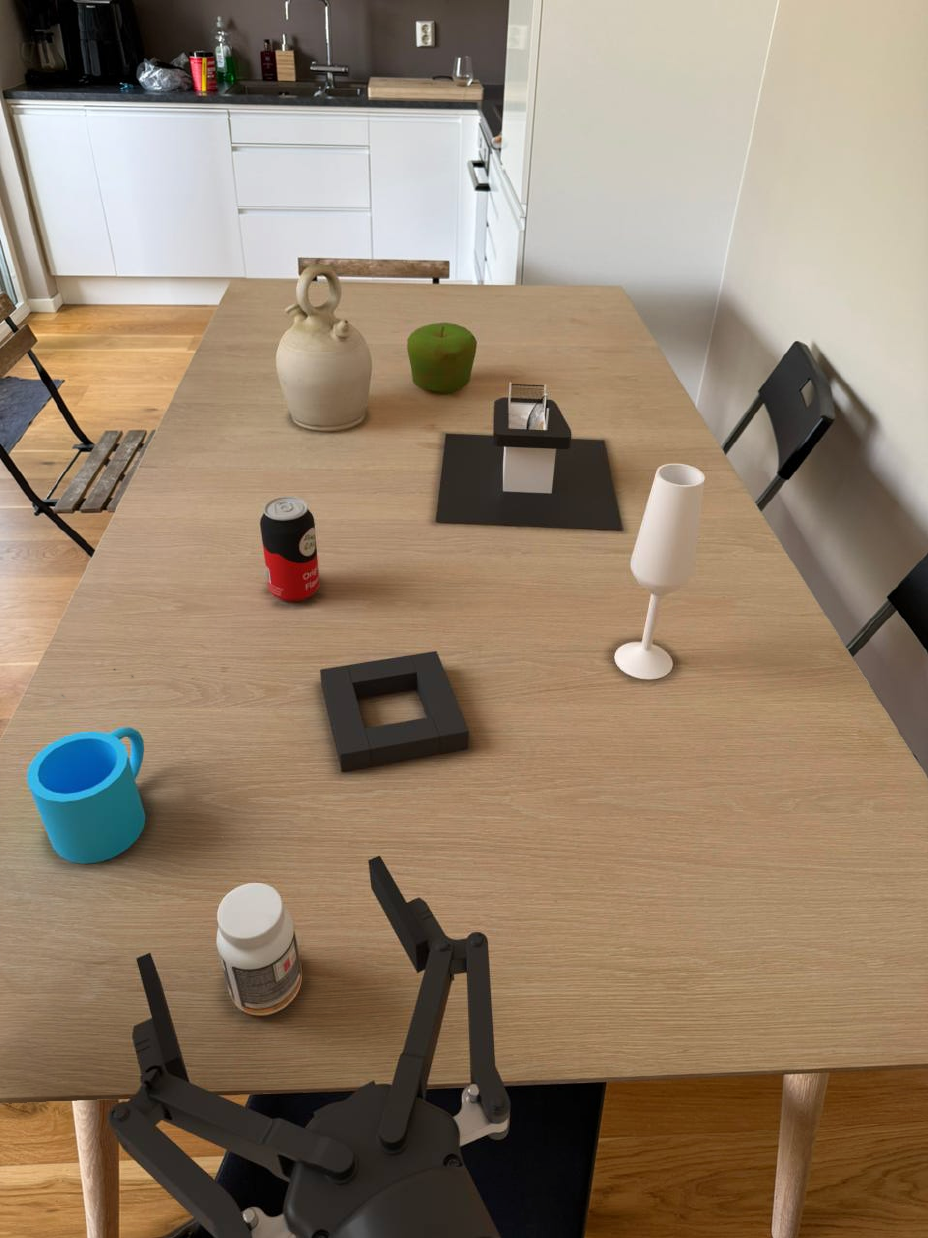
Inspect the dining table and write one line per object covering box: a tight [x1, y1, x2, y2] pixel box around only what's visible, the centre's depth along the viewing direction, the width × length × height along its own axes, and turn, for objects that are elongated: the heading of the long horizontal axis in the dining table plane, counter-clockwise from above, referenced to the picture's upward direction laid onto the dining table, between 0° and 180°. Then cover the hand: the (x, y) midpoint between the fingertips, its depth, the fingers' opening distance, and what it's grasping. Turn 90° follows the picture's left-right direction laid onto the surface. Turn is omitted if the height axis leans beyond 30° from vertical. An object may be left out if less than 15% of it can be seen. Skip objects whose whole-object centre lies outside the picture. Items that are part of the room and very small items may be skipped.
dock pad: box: [319, 650, 470, 773], centre depth 93 cm, size 13×13×2 cm
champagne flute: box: [614, 463, 706, 680], centre depth 95 cm, size 7×7×24 cm
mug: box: [26, 726, 146, 865], centre depth 80 cm, size 12×8×8 cm
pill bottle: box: [215, 882, 303, 1016], centre depth 67 cm, size 6×6×10 cm
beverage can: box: [259, 496, 321, 603], centre depth 108 cm, size 6×6×12 cm
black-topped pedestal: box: [435, 382, 623, 531], centre depth 132 cm, size 28×26×13 cm
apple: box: [406, 322, 478, 396], centre depth 159 cm, size 12×12×11 cm
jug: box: [275, 263, 373, 433], centre depth 143 cm, size 15×16×25 cm
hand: (267, 917), depth 52 cm, fingers open, 13 cm apart
